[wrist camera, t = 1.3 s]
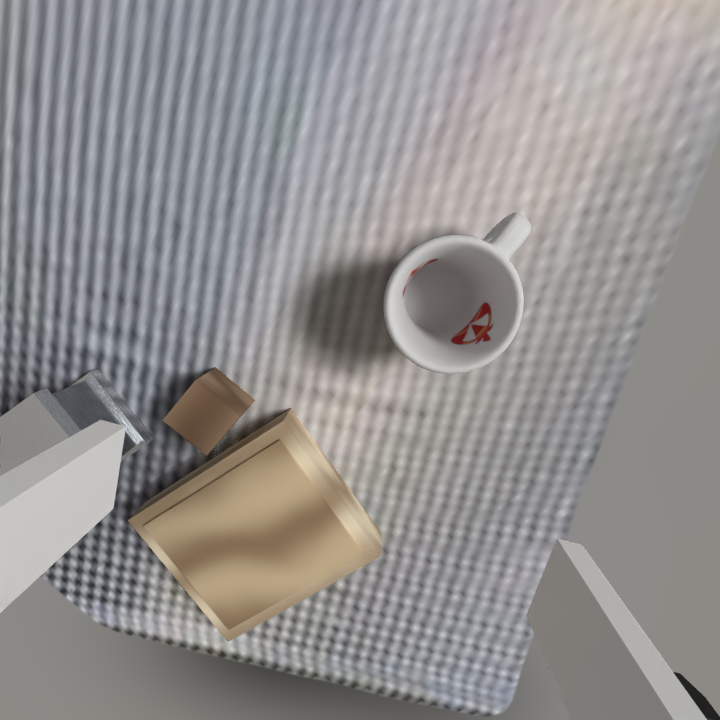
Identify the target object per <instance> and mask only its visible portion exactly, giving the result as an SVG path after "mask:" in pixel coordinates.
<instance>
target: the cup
mask: <svg viewBox="0 0 720 720" xmlns="http://www.w3.org/2000/svg"><path fill="white" fill-rule="evenodd" d="M530 231H531V224H530V222H529V221H528V220H527V219H526V218H525V217H524V216H523V215H521V214H519V213H512V214H510V215H508V216H507V217H506V218H504V219H503V220H502V221H501V222H499V223H498V224H497V225H496V226H495V227H494V228H493V229H492V230H491V231H490V232H489V233H488V234H487V235H486V236H485V238H484V239H483V240H481V239H478V238H475V237H471V236H465V235H447V236H441V237H437V238H434V239H431V240H428V241H426V242H424V243H422V244H420V245H418V246H417V247H415V248H414V249H413V250H411V251H410V252H409V253H408V254H407V255H406V256H405V257H404V258H403V259H402V260H401V261H400V262H399V263H398V265H397V266H396V268H395V269H394V271H393V272H392V274H391V276H390V278H389V281H388V284H387V287H386V290H385V295H384V306H383V308H384V319H385V323H386V327H387V330H388V332H389V335H390V337H391V339H392V341H393V342H394V344H395V345H396V347H397V348H398V349H399V350H400V352H401V353H402V354H403V355H404V356H405V357H406V358H408V359H409V360H410V361H412V362H413V363H415V364H416V365H418V366H420V367H422V368H424V369H427V370H430V371H433V372H437V373H443V374H458V373H465V372H469V371H473V370H475V369H478V368H480V367H483V366H485V365H486V364H488V363H490V362H491V361H493V360H494V359H495V358H497V357H498V356H499V355H500V354H501V353H502V352H503V351H504V350H505V349H506V348H507V347H508V345H509V344H510V343H511V341H512V340H513V338H514V336H515V334H516V332H517V330H518V328H519V325H520V322H521V318H522V314H523V302H524V301H523V291H522V286H521V282H520V279H519V276H518V274H517V272H516V270H515V268H514V267H513V265H512V263H511V262H510V261H509V259H510V257H511V256H512V255H513V253H514V252H515V251H516V250H517V249H518V248H519V247H520V246H521V244H522V243H523V242H524V241H525V239H526V238H527V237H528V235H529V233H530Z"/></svg>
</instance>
